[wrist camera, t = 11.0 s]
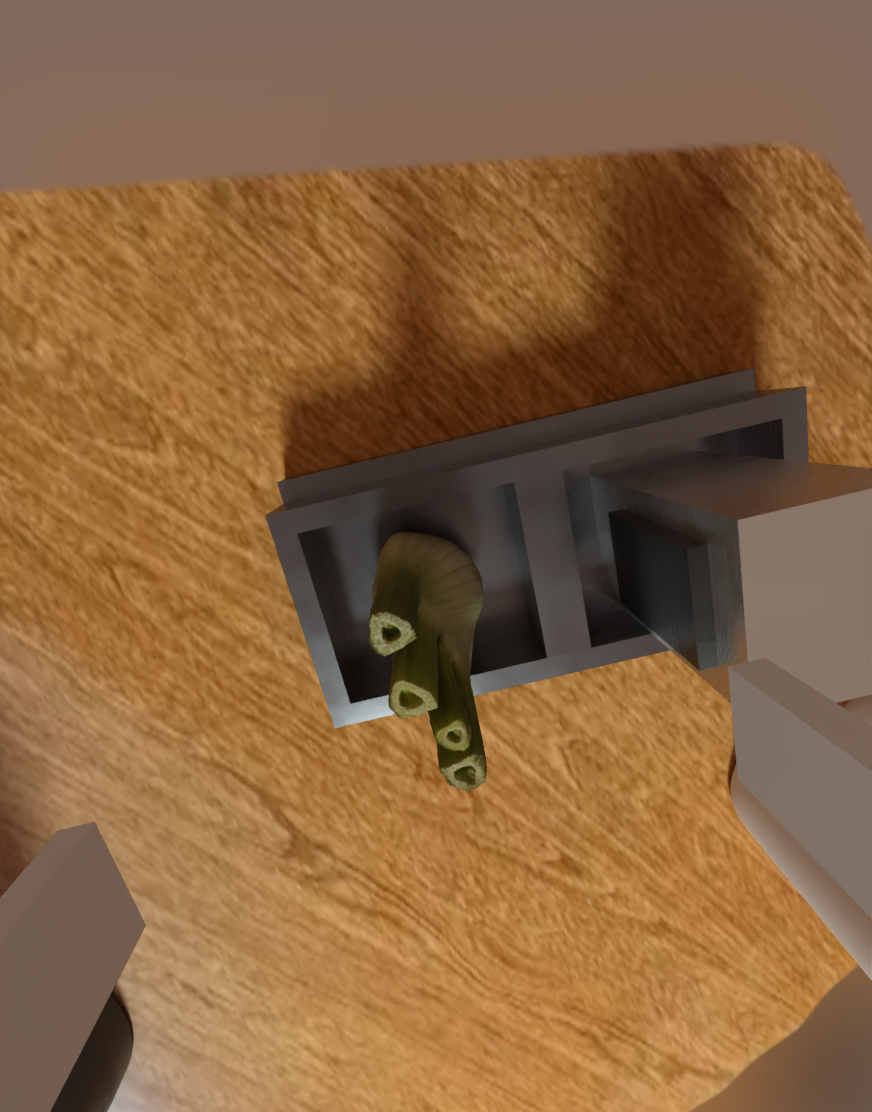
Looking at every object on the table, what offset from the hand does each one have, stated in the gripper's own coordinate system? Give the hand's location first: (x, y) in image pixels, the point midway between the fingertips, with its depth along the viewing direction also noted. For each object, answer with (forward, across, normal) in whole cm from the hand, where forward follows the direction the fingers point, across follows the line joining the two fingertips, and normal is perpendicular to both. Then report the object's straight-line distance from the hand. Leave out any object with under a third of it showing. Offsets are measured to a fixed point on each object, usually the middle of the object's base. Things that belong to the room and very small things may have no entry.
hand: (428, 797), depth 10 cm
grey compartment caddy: (+16, +6, 0) cm, 17 cm away
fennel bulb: (+15, +1, 0) cm, 15 cm away
